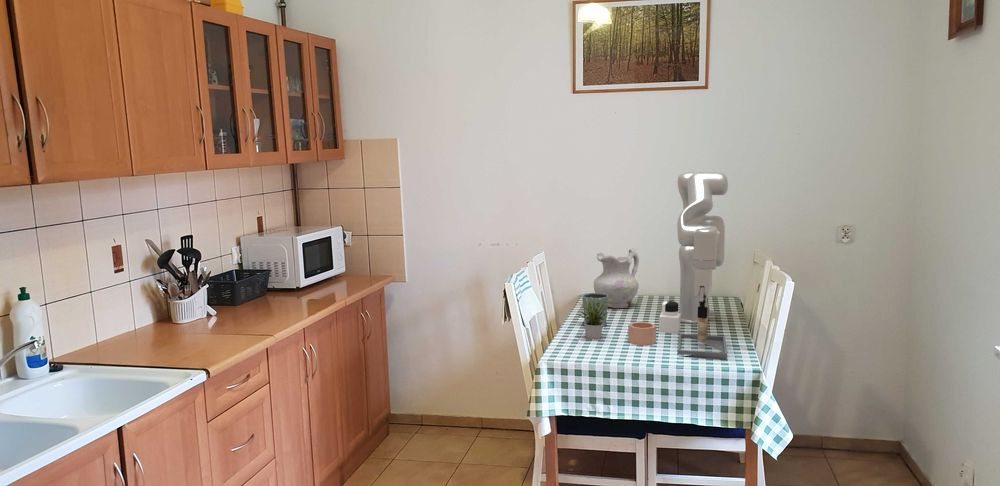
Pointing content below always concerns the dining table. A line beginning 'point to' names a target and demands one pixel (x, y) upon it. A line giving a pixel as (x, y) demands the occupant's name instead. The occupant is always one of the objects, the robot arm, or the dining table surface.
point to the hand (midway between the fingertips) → (703, 316)
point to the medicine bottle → (669, 318)
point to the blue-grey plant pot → (596, 297)
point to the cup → (642, 333)
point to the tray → (712, 341)
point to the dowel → (703, 327)
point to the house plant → (594, 319)
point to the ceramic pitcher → (617, 279)
